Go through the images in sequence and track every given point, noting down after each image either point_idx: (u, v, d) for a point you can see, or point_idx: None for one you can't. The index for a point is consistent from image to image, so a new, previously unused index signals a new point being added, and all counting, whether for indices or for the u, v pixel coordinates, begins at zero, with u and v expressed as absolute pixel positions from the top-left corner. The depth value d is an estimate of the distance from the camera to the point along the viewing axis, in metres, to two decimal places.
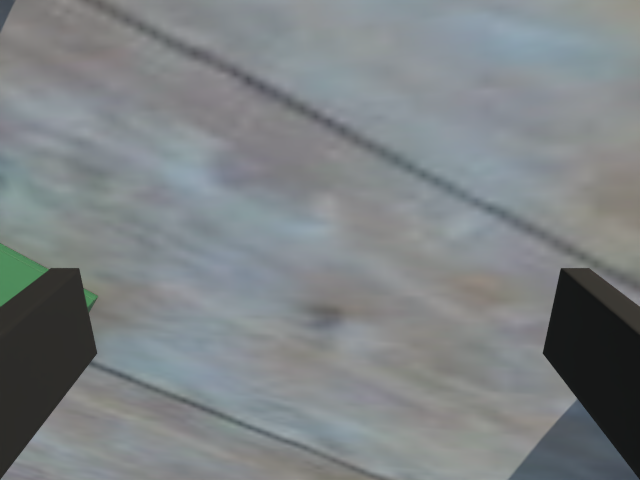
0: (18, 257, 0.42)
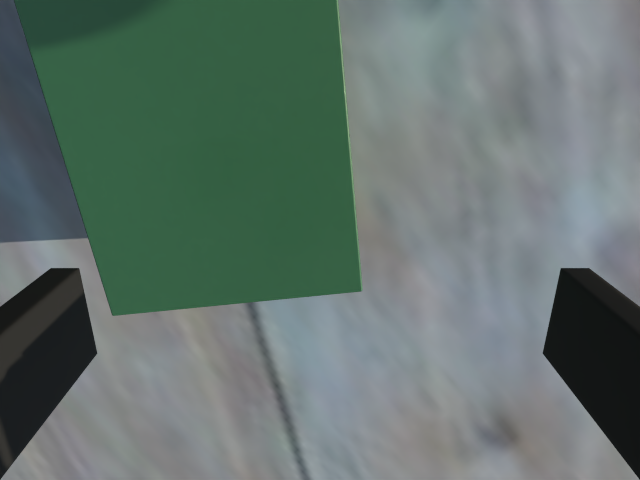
0: None
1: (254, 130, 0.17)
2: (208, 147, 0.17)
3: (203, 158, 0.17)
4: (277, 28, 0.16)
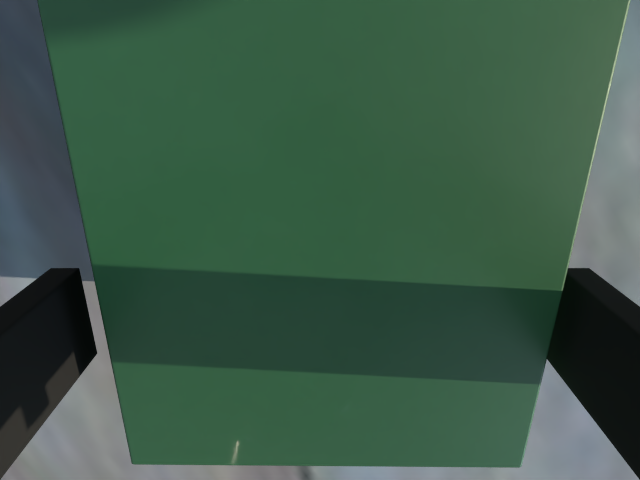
0: None
1: (418, 227, 0.10)
2: (335, 245, 0.10)
3: (323, 261, 0.10)
4: (503, 66, 0.09)
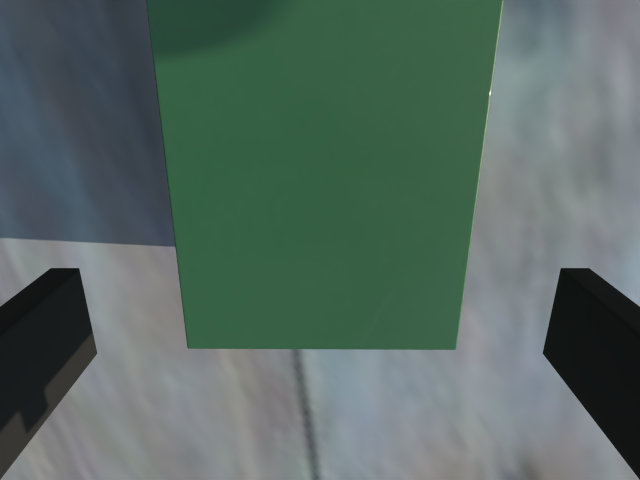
0: None
1: (379, 176, 0.16)
2: (327, 188, 0.16)
3: (319, 199, 0.16)
4: (426, 75, 0.15)
